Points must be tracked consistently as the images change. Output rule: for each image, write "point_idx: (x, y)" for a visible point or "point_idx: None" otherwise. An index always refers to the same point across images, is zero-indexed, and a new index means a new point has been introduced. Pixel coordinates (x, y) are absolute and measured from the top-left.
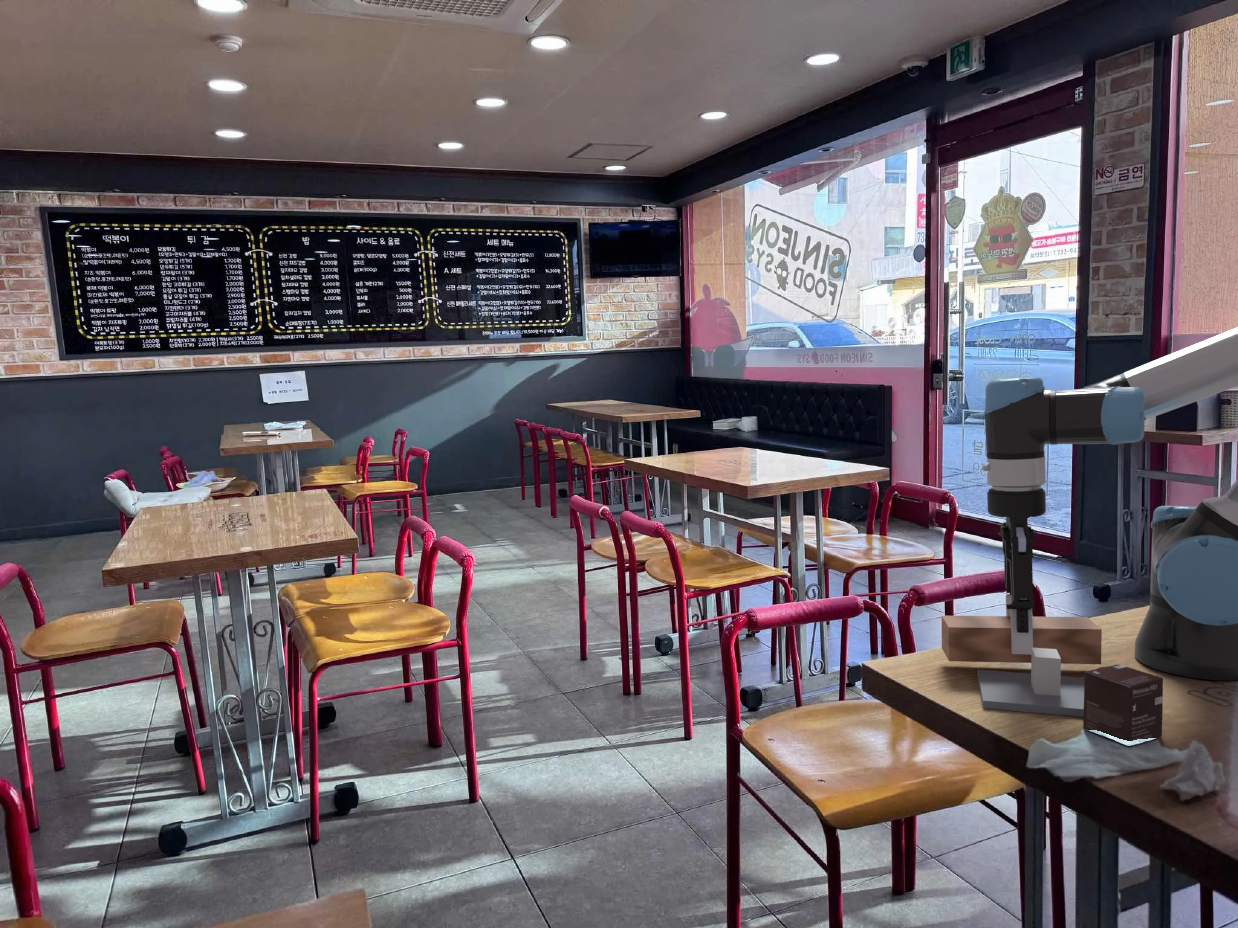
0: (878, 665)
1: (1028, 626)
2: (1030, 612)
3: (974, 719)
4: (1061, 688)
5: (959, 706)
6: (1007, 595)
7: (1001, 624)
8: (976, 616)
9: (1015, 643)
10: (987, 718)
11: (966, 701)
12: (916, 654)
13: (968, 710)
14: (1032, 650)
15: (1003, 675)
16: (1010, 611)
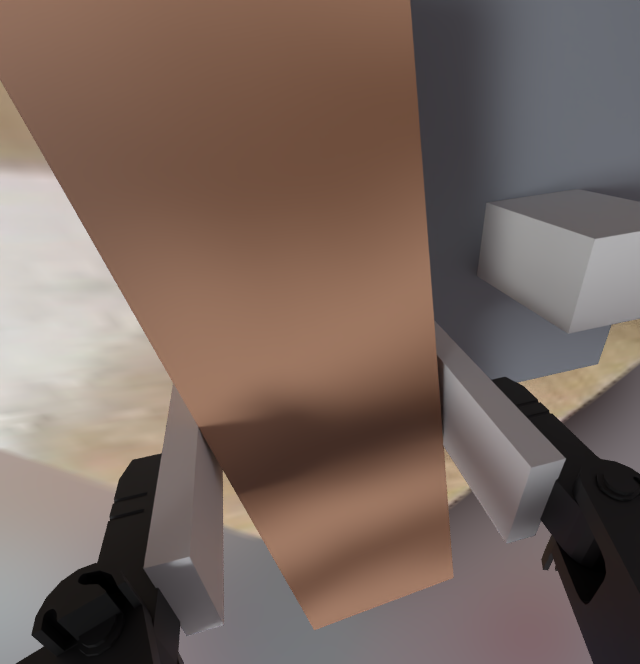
0: None
1: (533, 397)
2: (542, 446)
3: (636, 357)
4: (513, 183)
5: (571, 392)
6: (212, 622)
7: (393, 481)
8: (290, 567)
9: None
10: (635, 337)
11: (545, 387)
12: (253, 533)
13: (592, 374)
14: (590, 326)
15: None
16: (219, 507)
